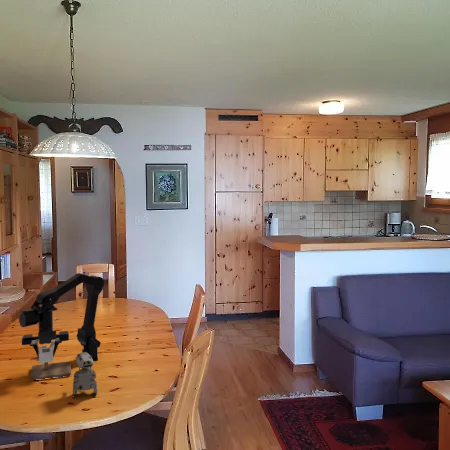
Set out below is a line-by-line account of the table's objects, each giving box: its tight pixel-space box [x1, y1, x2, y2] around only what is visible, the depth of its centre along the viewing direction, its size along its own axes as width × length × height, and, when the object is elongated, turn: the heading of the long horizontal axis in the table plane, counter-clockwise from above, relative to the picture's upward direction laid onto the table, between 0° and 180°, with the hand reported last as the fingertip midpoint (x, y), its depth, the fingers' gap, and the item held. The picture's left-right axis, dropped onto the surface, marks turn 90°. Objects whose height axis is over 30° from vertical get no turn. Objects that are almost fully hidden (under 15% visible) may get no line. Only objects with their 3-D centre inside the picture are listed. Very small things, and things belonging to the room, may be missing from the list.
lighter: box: [40, 339, 55, 348], centre depth 208 cm, size 7×2×8 cm, turn 99°
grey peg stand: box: [29, 361, 72, 381], centre depth 189 cm, size 16×14×8 cm
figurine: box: [71, 352, 98, 397], centre depth 170 cm, size 9×12×15 cm
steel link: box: [38, 346, 54, 364], centre depth 189 cm, size 6×7×4 cm
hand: (46, 357), depth 189 cm, fingers closed on steel link, 6 cm apart
